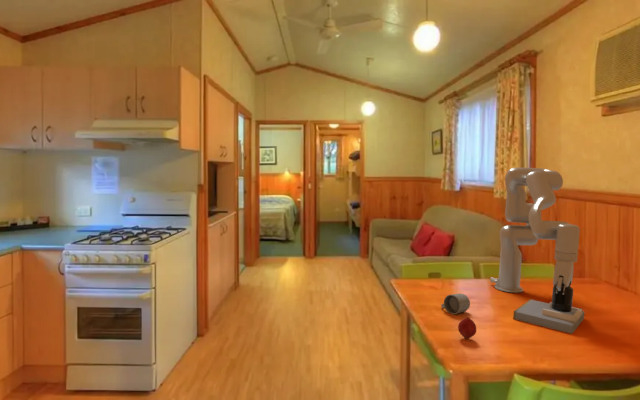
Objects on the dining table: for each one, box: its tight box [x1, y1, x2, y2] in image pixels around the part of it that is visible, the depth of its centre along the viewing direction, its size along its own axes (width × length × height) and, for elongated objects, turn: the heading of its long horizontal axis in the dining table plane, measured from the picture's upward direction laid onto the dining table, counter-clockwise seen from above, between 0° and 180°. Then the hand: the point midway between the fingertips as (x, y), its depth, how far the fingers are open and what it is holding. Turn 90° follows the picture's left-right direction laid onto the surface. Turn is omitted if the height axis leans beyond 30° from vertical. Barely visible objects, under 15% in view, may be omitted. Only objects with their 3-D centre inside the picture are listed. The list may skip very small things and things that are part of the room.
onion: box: [457, 315, 477, 340], centre depth 140 cm, size 6×6×8 cm
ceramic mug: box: [440, 293, 471, 315], centre depth 168 cm, size 11×8×8 cm
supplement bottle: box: [551, 281, 574, 312], centre depth 160 cm, size 7×7×12 cm
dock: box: [513, 299, 585, 335], centre depth 163 cm, size 20×22×5 cm
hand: (561, 301), depth 160 cm, fingers closed on supplement bottle, 6 cm apart
